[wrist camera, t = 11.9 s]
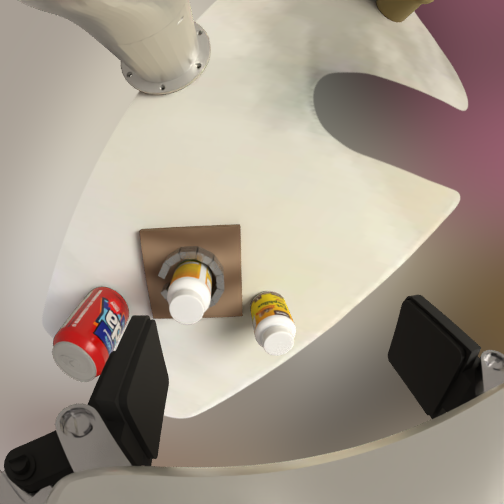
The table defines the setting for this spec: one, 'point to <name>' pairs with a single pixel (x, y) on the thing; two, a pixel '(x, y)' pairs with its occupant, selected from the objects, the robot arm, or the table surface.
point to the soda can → (90, 334)
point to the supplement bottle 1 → (190, 291)
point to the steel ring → (201, 256)
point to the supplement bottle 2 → (272, 323)
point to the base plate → (170, 239)
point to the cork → (399, 8)
